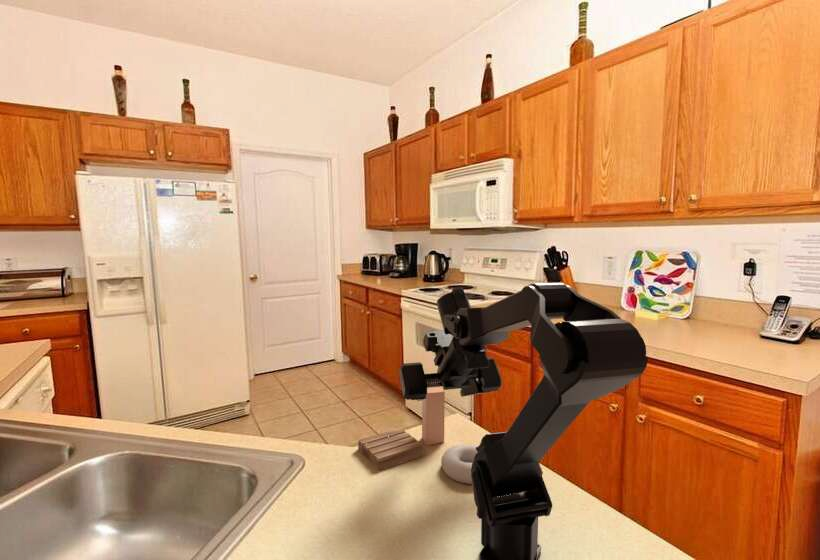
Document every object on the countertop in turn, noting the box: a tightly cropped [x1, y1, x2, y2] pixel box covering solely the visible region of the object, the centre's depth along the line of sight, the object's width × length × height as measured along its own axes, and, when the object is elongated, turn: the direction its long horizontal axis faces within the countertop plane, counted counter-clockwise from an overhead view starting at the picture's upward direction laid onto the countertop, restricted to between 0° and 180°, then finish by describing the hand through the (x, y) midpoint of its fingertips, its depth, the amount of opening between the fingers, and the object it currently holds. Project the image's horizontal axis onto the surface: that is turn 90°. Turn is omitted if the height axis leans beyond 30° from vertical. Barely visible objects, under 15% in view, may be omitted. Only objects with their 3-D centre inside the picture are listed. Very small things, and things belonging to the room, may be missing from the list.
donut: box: [440, 443, 479, 485], centre depth 73 cm, size 10×4×10 cm
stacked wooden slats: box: [357, 427, 425, 471], centre depth 80 cm, size 9×10×2 cm
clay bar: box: [421, 387, 446, 446], centre depth 85 cm, size 3×4×11 cm
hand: (439, 396), depth 80 cm, fingers open, 9 cm apart
